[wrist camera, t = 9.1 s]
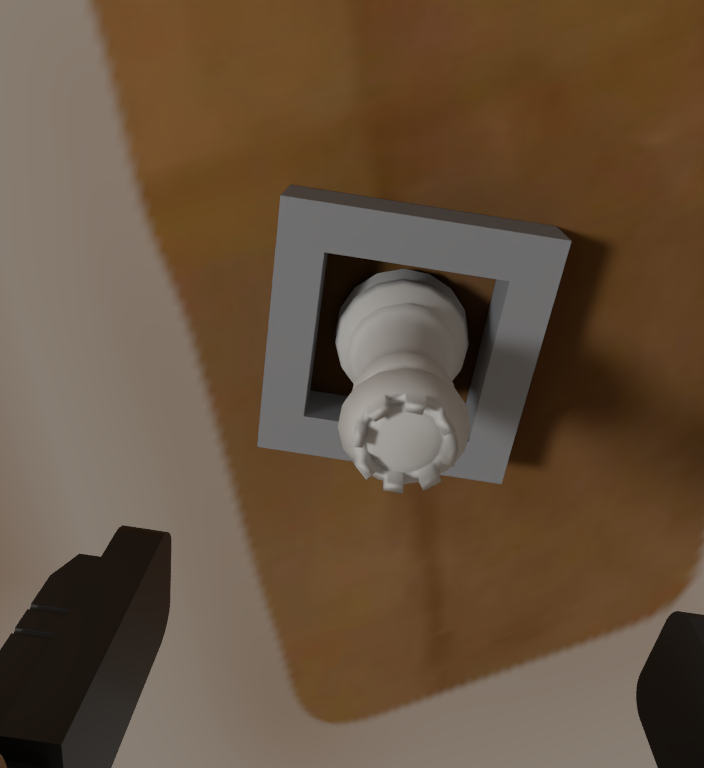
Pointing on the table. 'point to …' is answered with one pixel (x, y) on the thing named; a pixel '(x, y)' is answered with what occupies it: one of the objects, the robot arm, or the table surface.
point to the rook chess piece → (403, 378)
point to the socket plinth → (420, 249)
